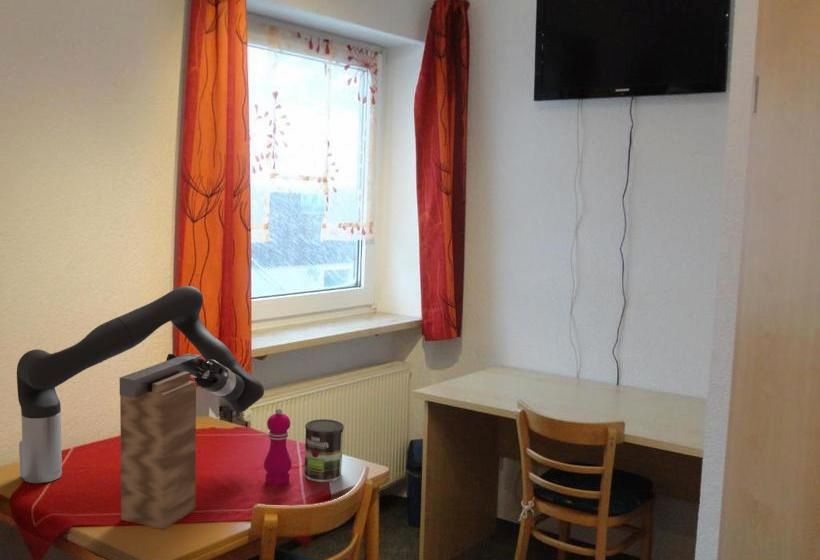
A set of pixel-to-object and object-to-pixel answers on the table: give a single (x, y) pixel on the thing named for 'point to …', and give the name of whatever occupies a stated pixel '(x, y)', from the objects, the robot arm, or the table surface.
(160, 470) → the walnut stand
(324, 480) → the coffee can
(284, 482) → the pepper mill
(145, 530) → the table surface
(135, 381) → the lever bar
